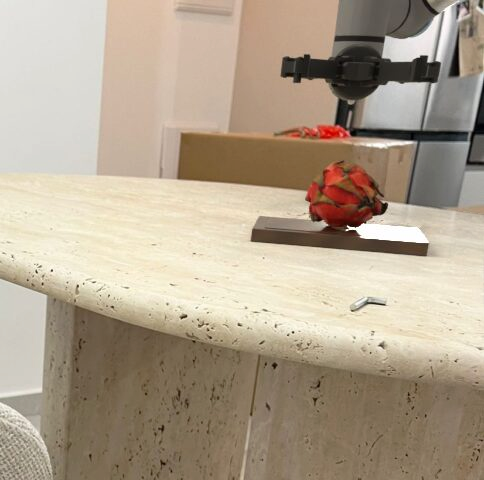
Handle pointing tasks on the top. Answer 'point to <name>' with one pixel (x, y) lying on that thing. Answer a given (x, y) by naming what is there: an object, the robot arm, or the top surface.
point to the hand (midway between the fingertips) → (361, 67)
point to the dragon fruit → (344, 196)
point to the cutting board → (340, 236)
